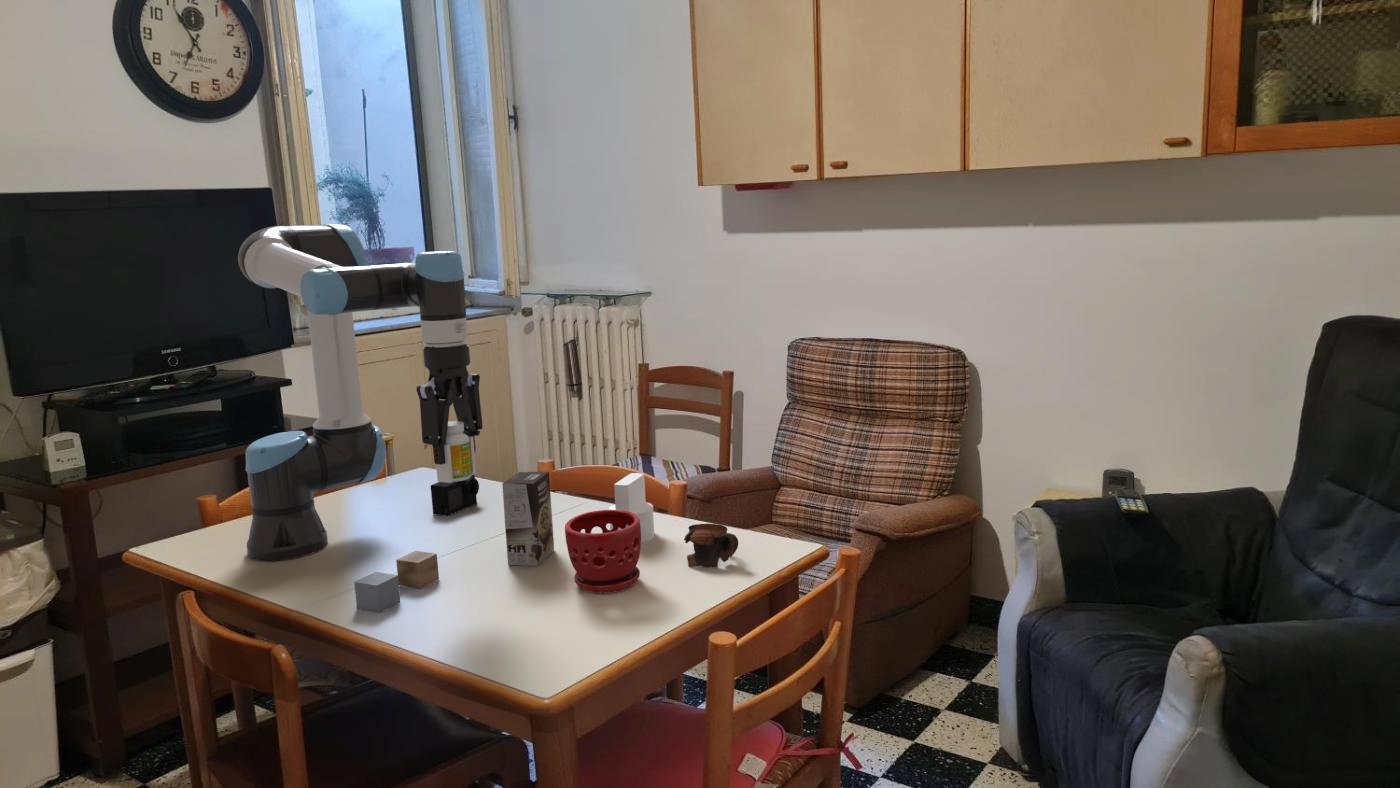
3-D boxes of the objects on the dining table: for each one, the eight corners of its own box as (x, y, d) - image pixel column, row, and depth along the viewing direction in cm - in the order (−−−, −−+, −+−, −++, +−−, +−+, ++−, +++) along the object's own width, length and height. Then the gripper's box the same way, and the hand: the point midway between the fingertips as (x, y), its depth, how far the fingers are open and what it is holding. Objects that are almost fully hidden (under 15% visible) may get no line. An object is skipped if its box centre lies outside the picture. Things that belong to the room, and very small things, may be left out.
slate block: (357, 609, 163) (354, 581, 162) (378, 598, 168) (375, 571, 167) (379, 613, 161) (376, 585, 160) (400, 602, 166) (397, 575, 165)
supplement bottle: (467, 482, 164) (463, 426, 162) (436, 482, 164) (431, 427, 162) (475, 473, 169) (471, 419, 167) (444, 474, 169) (440, 420, 167)
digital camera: (451, 517, 213) (449, 486, 212) (432, 514, 216) (430, 484, 215) (481, 504, 223) (479, 474, 221) (462, 502, 225) (460, 473, 224)
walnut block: (398, 586, 173) (396, 559, 172) (417, 576, 178) (415, 550, 177) (420, 589, 171) (417, 562, 170) (439, 579, 176) (436, 553, 175)
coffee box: (539, 566, 180) (533, 483, 177) (506, 565, 181) (500, 483, 179) (555, 550, 189) (550, 470, 186) (525, 549, 190) (519, 470, 187)
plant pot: (575, 572, 176) (571, 509, 174) (646, 570, 176) (643, 507, 174) (562, 600, 164) (558, 533, 162) (639, 598, 163) (636, 531, 161)
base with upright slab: (644, 544, 190) (641, 486, 188) (603, 541, 193) (599, 483, 191) (660, 530, 199) (658, 474, 196) (620, 527, 201) (617, 472, 199)
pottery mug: (672, 568, 178) (674, 524, 181) (703, 576, 185) (704, 533, 188) (725, 562, 171) (726, 517, 174) (754, 571, 178) (755, 527, 181)
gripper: (425, 352, 152) (438, 493, 156) (497, 337, 168) (507, 465, 173) (389, 350, 155) (402, 489, 160) (463, 336, 172) (474, 462, 176)
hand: (457, 476), depth 166 cm, fingers closed on supplement bottle, 5 cm apart
